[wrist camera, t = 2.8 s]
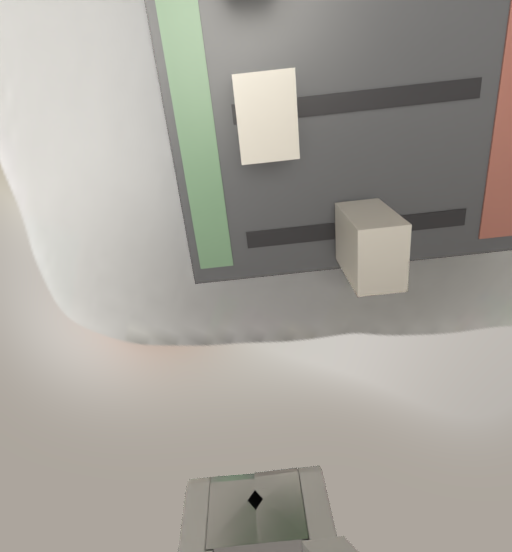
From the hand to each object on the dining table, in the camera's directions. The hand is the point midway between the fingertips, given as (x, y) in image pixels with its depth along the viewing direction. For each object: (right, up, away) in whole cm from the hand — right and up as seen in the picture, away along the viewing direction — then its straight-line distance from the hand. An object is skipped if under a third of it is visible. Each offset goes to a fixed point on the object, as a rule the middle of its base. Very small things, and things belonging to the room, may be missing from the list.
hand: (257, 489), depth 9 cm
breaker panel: (+5, +15, +15) cm, 22 cm away
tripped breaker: (+6, +8, +15) cm, 18 cm away
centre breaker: (0, +13, +12) cm, 18 cm away
